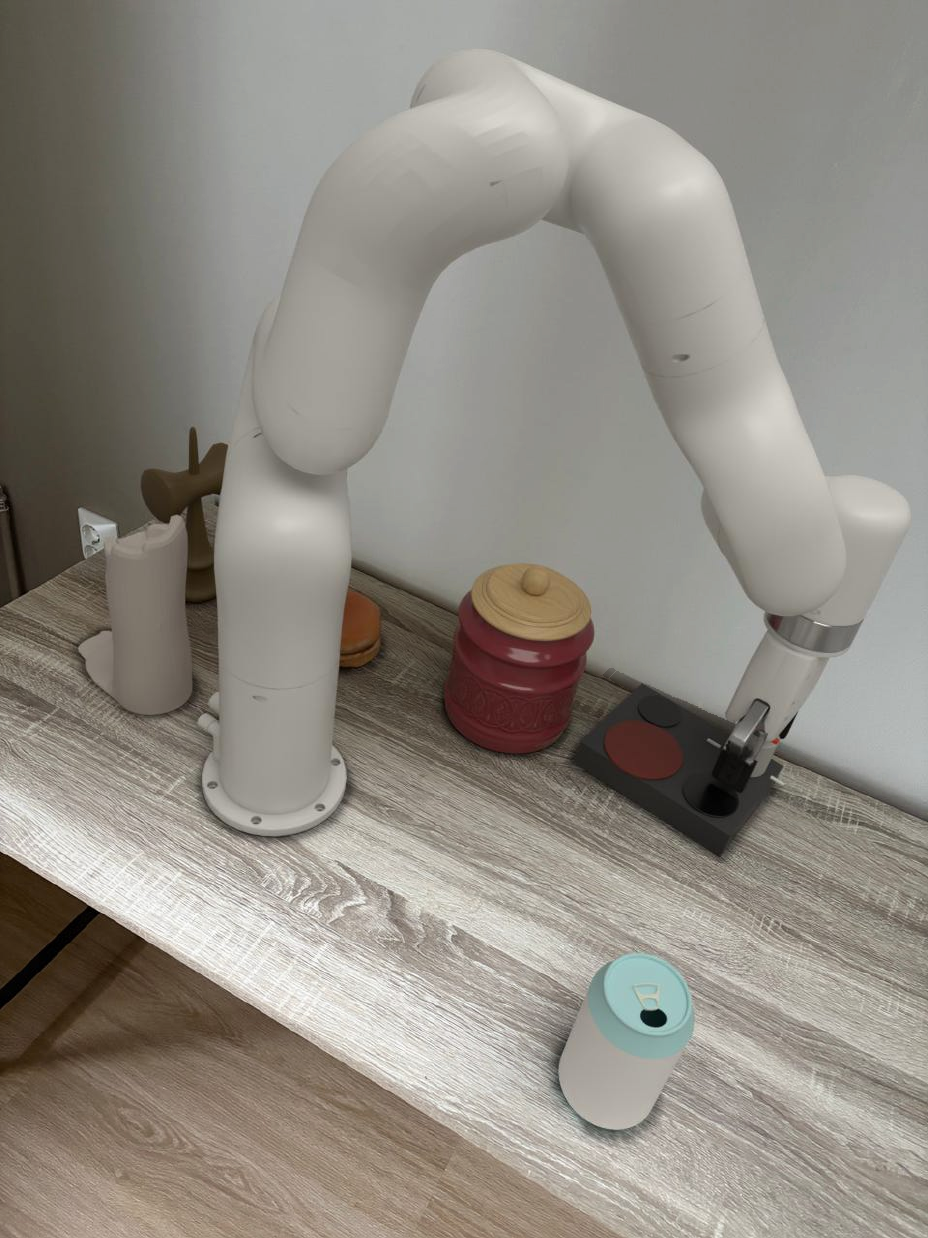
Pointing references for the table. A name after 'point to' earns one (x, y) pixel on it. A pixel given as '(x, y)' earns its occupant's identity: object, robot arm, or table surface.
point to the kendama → (189, 510)
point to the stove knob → (762, 752)
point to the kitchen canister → (518, 657)
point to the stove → (676, 774)
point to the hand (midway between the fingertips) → (749, 756)
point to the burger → (359, 630)
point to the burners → (665, 757)
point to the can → (626, 1040)
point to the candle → (145, 622)
